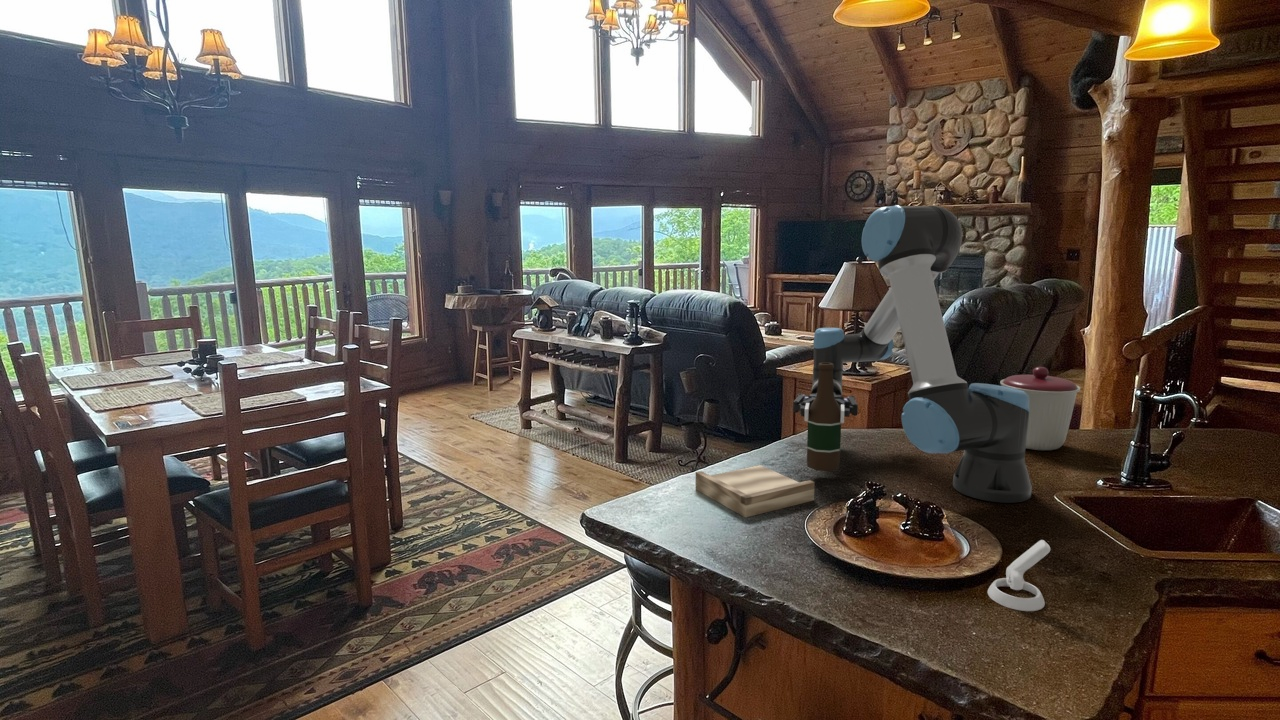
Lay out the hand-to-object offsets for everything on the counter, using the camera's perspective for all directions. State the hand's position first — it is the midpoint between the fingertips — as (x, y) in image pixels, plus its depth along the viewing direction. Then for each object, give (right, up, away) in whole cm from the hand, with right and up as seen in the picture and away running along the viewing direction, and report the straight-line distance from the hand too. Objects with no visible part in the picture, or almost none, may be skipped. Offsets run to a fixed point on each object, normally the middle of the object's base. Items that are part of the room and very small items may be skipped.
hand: (824, 416), depth 148 cm
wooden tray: (-16, -17, -2) cm, 23 cm away
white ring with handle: (+17, -24, -45) cm, 54 cm away
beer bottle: (+2, -12, +7) cm, 14 cm away
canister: (+64, -10, +31) cm, 72 cm away
